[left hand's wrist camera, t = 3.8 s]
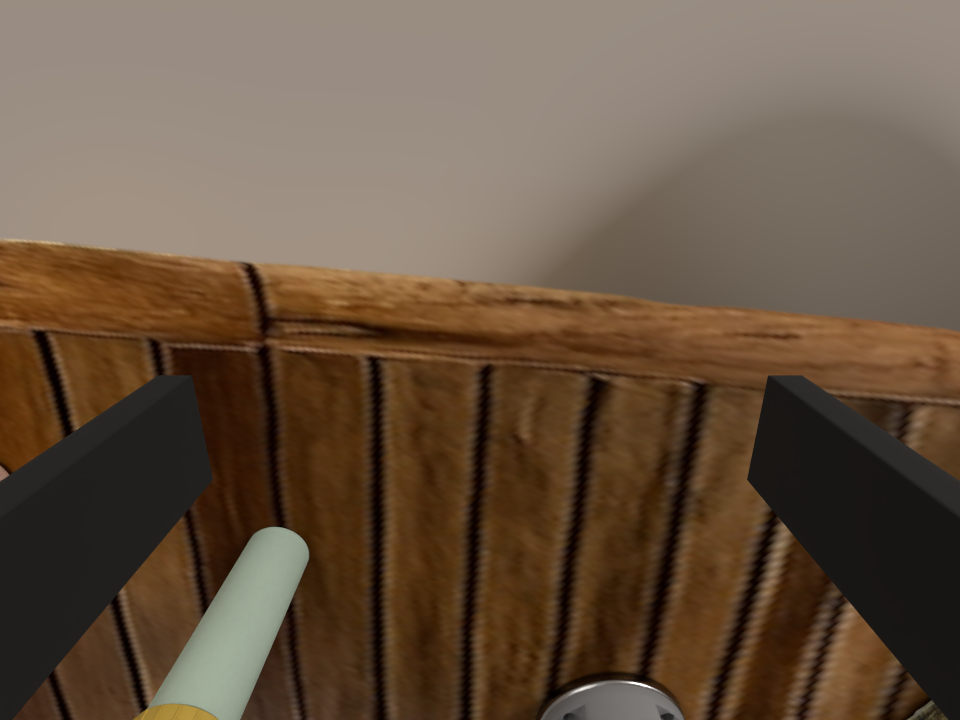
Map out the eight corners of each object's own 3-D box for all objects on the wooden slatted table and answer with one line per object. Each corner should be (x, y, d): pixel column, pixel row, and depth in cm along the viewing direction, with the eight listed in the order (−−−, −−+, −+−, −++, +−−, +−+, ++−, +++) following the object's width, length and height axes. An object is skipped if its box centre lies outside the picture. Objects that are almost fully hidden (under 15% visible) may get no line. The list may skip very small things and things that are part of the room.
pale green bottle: (300, 583, 49) (204, 810, 32) (242, 565, 49) (111, 788, 31) (316, 537, 48) (222, 752, 30) (255, 519, 47) (124, 728, 30)
